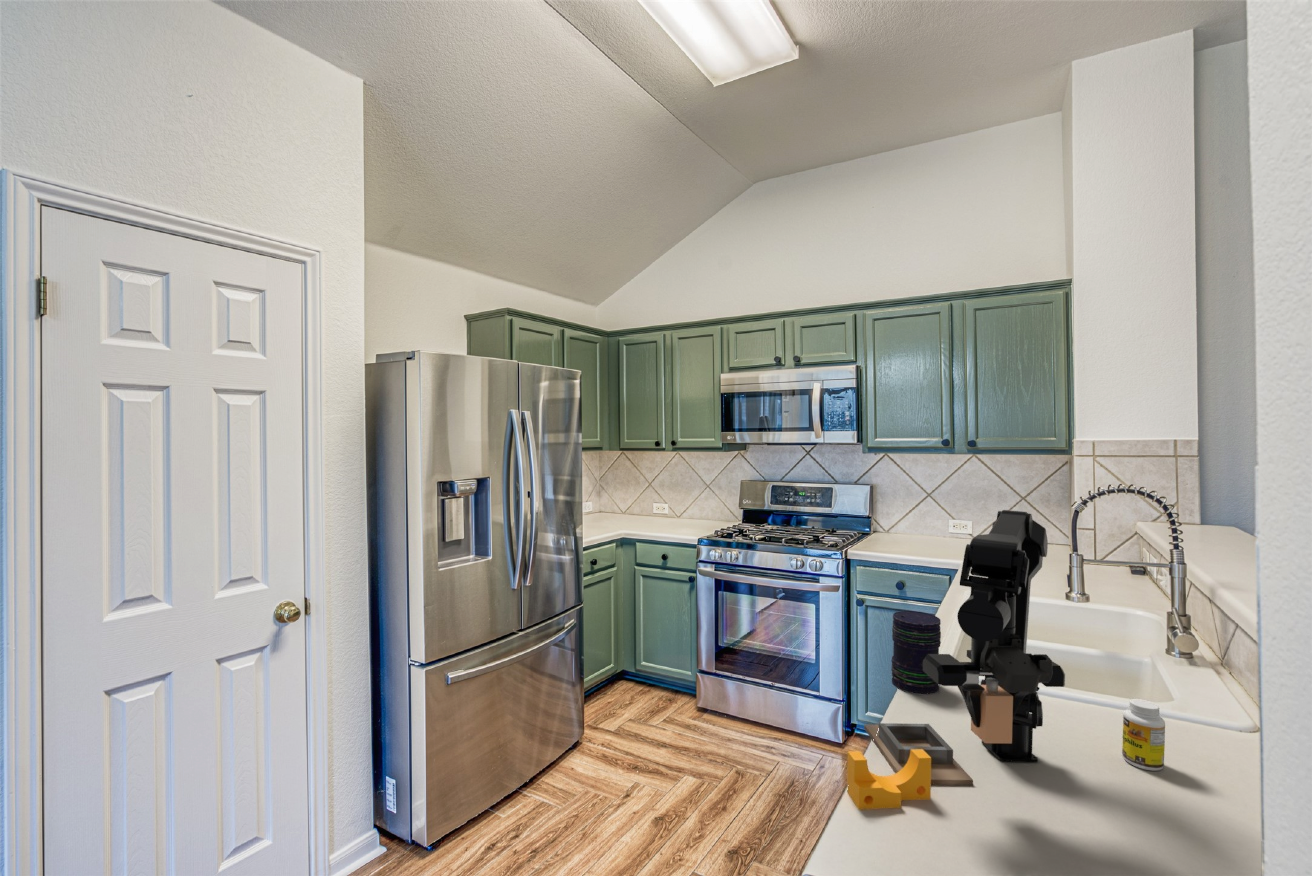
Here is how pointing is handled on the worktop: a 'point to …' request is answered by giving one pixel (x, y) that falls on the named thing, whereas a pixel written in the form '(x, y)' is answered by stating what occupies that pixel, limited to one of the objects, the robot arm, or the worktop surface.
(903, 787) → the pipe clamp
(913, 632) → the storage jar
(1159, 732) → the supplement bottle
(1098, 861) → the worktop surface
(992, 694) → the connector
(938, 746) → the end holder
